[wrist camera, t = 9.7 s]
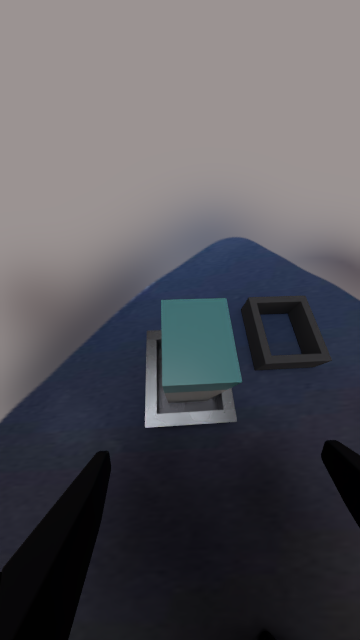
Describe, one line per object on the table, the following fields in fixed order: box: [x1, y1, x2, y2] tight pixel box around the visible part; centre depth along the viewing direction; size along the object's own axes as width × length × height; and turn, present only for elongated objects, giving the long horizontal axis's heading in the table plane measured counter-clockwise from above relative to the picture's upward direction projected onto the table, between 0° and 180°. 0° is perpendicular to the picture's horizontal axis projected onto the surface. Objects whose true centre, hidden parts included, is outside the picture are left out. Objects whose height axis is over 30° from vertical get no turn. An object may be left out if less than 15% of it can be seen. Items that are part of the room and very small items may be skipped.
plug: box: [161, 298, 242, 403], centre depth 16 cm, size 5×4×12 cm
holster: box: [241, 296, 332, 370], centre depth 23 cm, size 8×7×3 cm
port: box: [145, 330, 237, 428], centre depth 20 cm, size 9×8×4 cm
